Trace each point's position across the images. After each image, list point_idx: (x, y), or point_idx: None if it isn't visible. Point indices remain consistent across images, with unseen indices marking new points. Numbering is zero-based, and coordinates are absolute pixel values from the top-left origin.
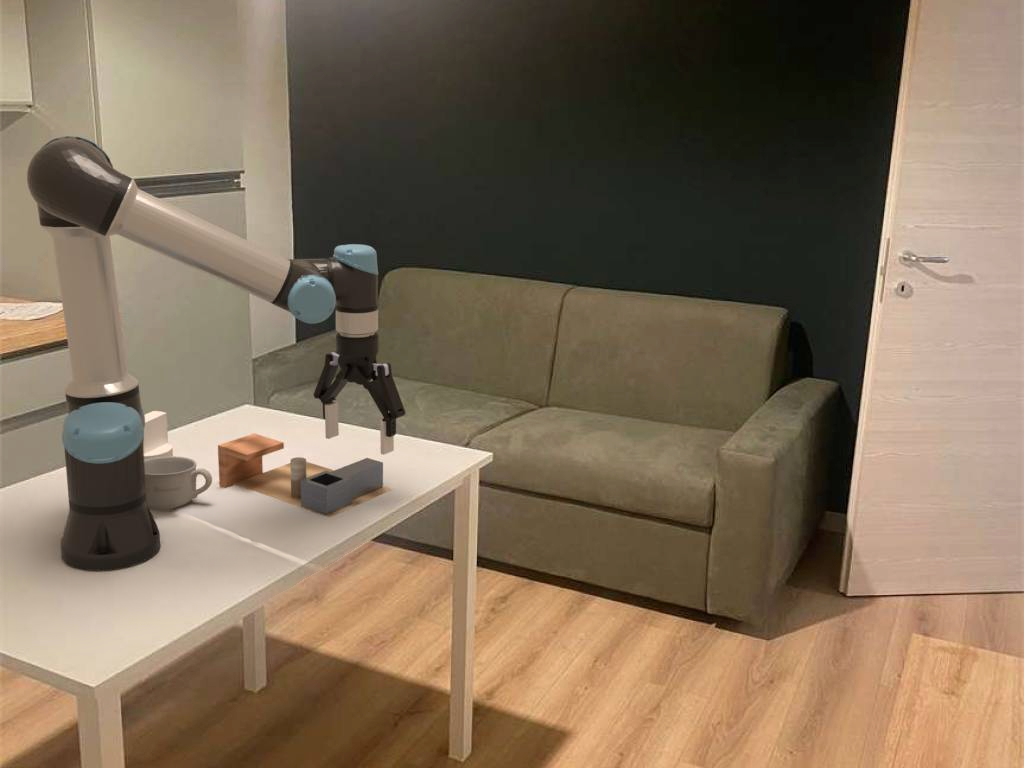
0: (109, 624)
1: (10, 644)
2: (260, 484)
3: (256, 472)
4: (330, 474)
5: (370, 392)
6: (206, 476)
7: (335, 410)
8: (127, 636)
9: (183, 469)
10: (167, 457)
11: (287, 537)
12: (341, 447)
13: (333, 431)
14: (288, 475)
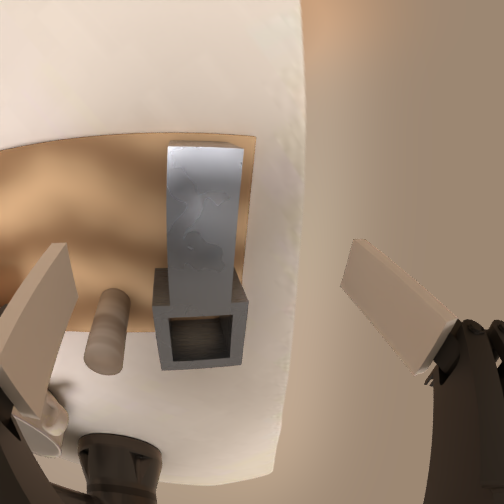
0: (228, 470)
1: (205, 485)
2: None
3: None
4: (183, 316)
5: (432, 495)
6: (65, 429)
7: (23, 340)
8: (249, 467)
9: None
10: None
11: (222, 377)
12: None
13: (64, 284)
14: (14, 241)
